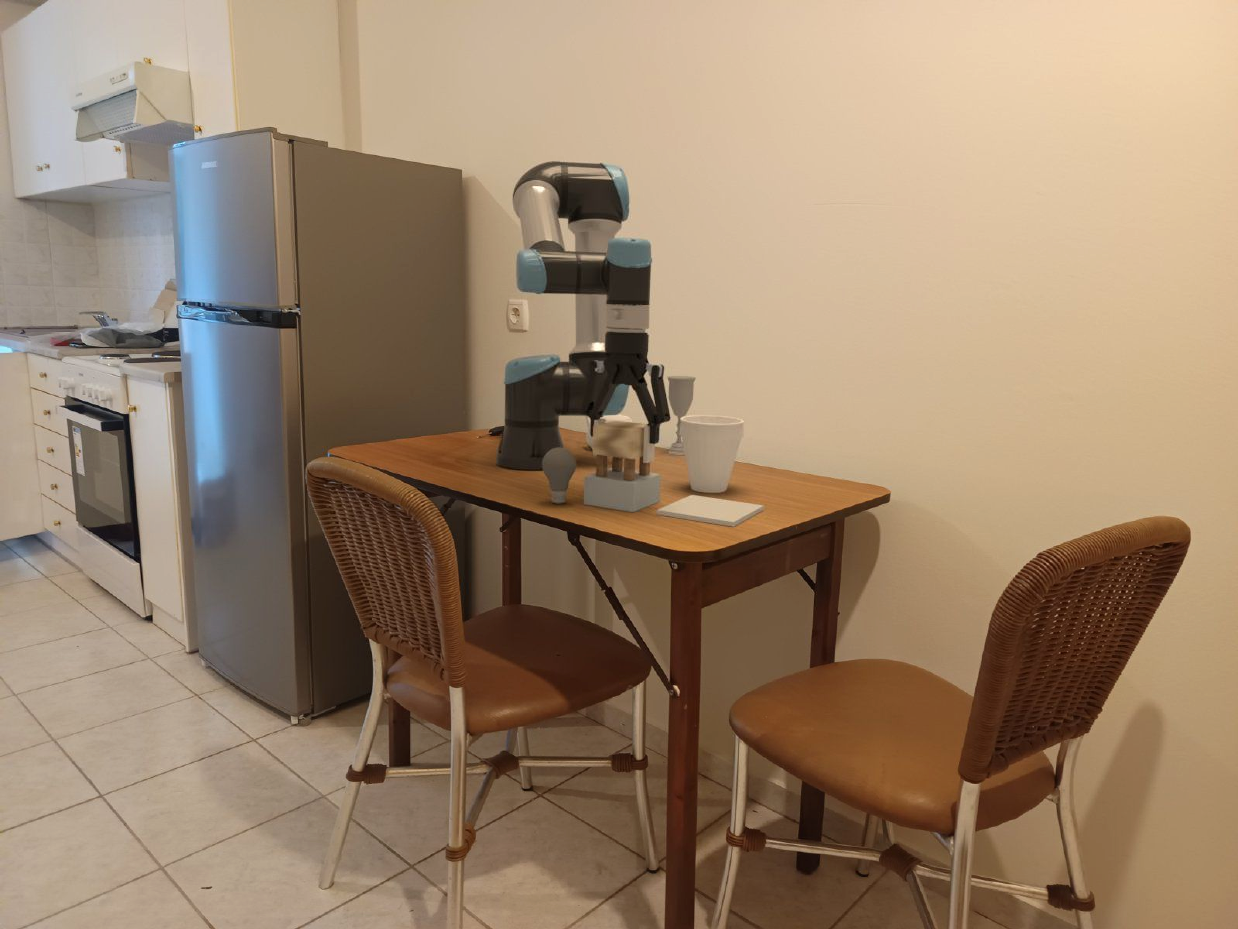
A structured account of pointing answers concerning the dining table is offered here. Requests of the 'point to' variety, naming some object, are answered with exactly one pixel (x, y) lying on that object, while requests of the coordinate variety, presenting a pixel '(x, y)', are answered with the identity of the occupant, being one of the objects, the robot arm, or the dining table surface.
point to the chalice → (680, 404)
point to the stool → (619, 448)
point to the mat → (711, 510)
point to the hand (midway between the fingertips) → (623, 458)
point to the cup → (710, 450)
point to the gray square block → (622, 491)
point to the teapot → (608, 419)
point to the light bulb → (559, 472)
